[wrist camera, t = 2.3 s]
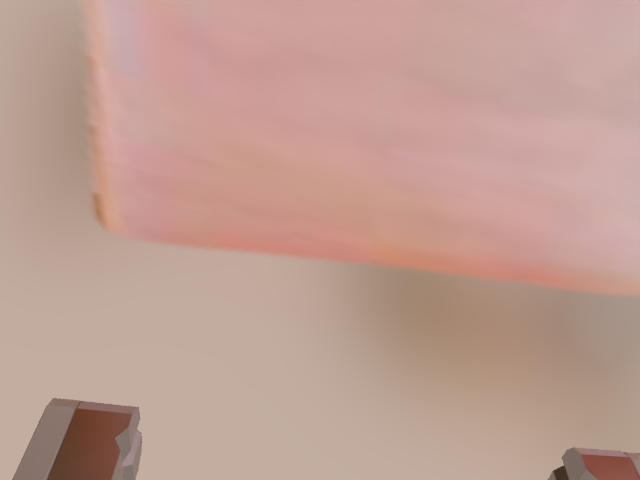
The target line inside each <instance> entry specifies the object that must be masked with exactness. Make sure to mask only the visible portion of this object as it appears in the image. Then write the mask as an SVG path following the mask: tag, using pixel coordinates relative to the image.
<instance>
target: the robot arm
mask: <svg viewBox="0 0 640 480" xmlns="http://www.w3.org/2000/svg"><path fill="white" fill-rule="evenodd" d="M139 420H140V413H139V408H138V407H132V406H121V405H113V404H104V403H95V402H85V401H78V400H68V399H57V398H53V399H52V400H51V402H50V403H49V404H48V405H47V406H46V408H45V411H44V413H43V415H42V417H41V419H40V421H39V424H38V426H37V428H36V430H35V432H34V434H33V436H32V438H31V441H30V443H29V445H28V447H27V449H26V451H25V454H24V456H23V458H22V460H21V462H20V464H19V467H18V469H17V471H16V473H15V475H14V477H13V479H12V480H135V479H136V475H137V471H138V467H139V462H140V456H141V447H142V436H141V432H140V431H138V430H137V427H138V424H139ZM562 460H563V463H564V466H562V467H560V468H558V469H556V470H554V471H553V472H552V474H551V475H550V477H549V479H548V480H640V453H627V452H621V451H612V450H599V449H587V448H571V449H568V450H567V451H566V452H565V454H564V455H563V456H562Z"/></svg>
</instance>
